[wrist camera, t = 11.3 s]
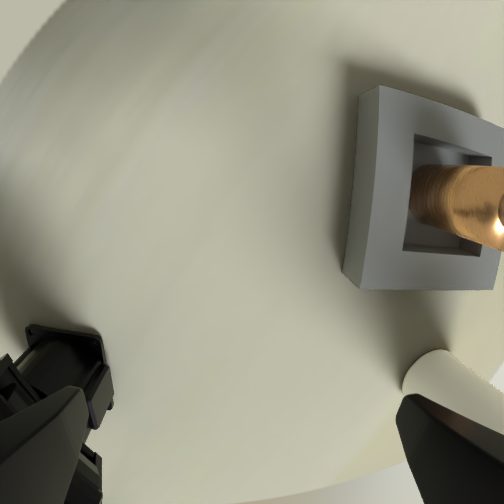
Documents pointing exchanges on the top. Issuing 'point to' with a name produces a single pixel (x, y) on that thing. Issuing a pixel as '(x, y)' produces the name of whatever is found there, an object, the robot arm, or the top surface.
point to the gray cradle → (398, 192)
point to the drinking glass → (456, 388)
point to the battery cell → (460, 201)
